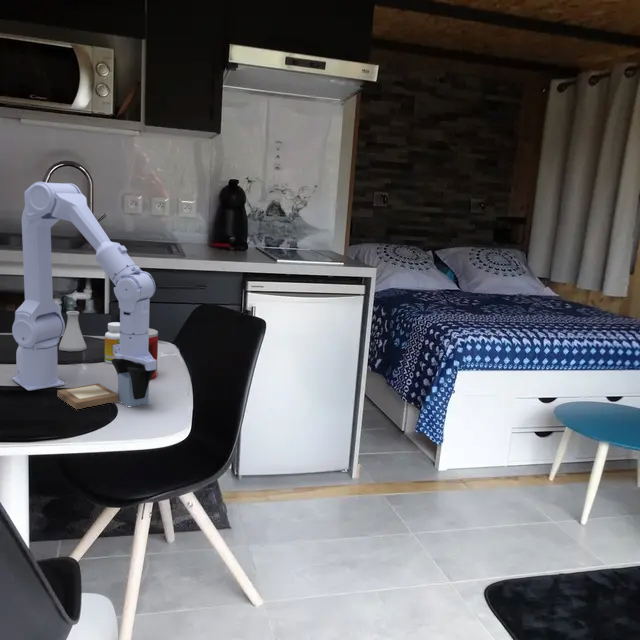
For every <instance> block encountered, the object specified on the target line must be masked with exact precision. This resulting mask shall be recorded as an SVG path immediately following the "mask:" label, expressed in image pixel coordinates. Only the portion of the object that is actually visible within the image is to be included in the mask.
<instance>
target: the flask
mask: <svg viewBox="0 0 640 640" xmlns="http://www.w3.org/2000/svg"><path fill="white" fill-rule="evenodd" d="M66 315H67V320H66V325H65V330H64V333H63V335H62V336H61V337H62V338H61V340H60V341H59V345H58V350H59V351H64V352H82V351H84V350H87V349H88V347H87V344H86V342H85V339H84V336H83V334H82V330H81V328H80V323H79V315H80V312H79V311H77V310H68V311H66Z"/></svg>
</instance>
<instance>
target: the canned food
mask: <svg viewBox="0 0 640 640" xmlns="http://www.w3.org/2000/svg"><path fill="white" fill-rule="evenodd" d="M158 348H159V331H158V330H156V329H154V328H150V327H149V346H148V352H149V353H150V354H151V356H152V357H153V359H155V360H157V361H158V356H159V355H158V350H159V349H158ZM157 374H158V363H157V364H156V371H155V372H154V374H153V376H152V377H151V379H150V381H151V380H154V379H155V378H156V377H157Z"/></svg>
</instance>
